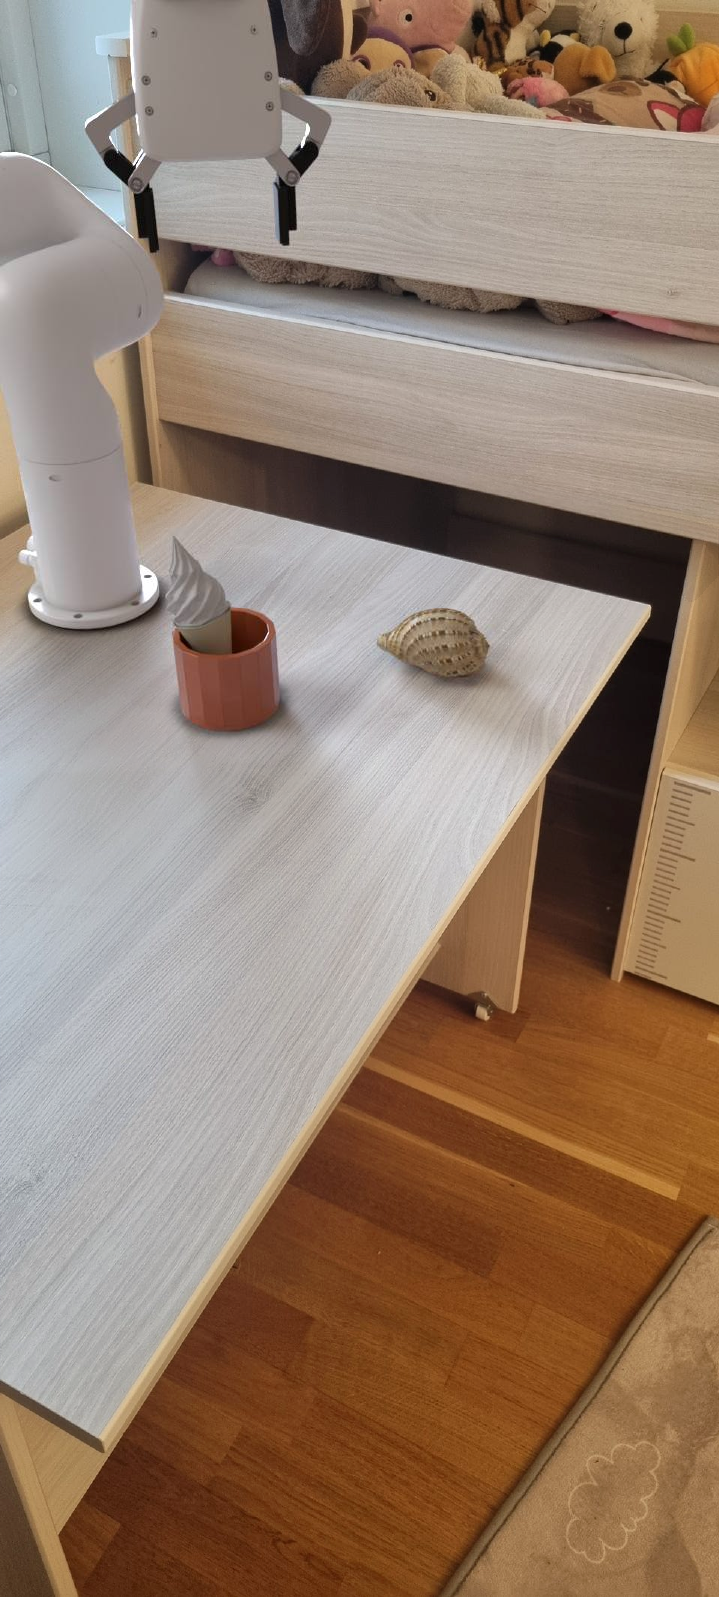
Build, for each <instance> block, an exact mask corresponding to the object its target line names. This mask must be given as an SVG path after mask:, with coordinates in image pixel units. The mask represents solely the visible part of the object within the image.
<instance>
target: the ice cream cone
mask: <svg viewBox="0 0 719 1597" xmlns="http://www.w3.org/2000/svg"><path fill="white" fill-rule="evenodd" d="M168 568H169V569H168V572H169V573H170V580H171V581H170V586H169V590H168V591H167V593H166V594H165V596H164V597H165V600H167V601H169V603H168V604H167V605H166V611H167V612H169V613H170V614H171V615H173V617H172V618H171V620H172V625H173V627H174V628H175V627H177V628H178V630H179V631H180V632H181V634H182V635H183V636H184V638H185V639H186V641H187V642H188V643H189V645H190V646H191V648H192V649H193V650H194V651H196V652H199V653H201V654H210V655H228V654H232V637H231V613H230V610H231V607H233V605H232V603H231V602H230V601H229V600H227V599H226V594H225V593H226V592H225V589H224V587H223V585H222V584H221V582H220V580H217V578H216V577H215V576H214V575H211V574H209V573H207V572H206V571H204V570H203V568H202V566H201V563H200V561H199V560H198V559H196V558H194V557H193V555H192V554H190V552H189V551H188V550H187V549H186V548H185V547H184V545H183V544H182V543H181V542H180V541H179V540H178V538H176V536H175V535H172V551H171V562H170V565H169V567H168Z"/></svg>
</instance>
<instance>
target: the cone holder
mask: <svg viewBox="0 0 719 1597" xmlns="http://www.w3.org/2000/svg"><path fill="white" fill-rule="evenodd" d="M230 613H231V637H232V654H228V655H210V654H201V653H199V652H196V651H194V650H193V649H192V648H191V646H190V645H189V643H188V642H187V641H186V639H185V638H184V636H183V635H182V634H181V632H180V631H179V630H178V628H177V627H175V626H174V629H173V630H172V632H171V636H172V645H173V653H174V661H175V670H176V677H177V686H178V692H179V693H178V694H179V700H180V709H181V712H182V714H183V716H184V717H185V718H186V720H188V721H189V722H190V723H191V724H193V725H195V726H198V727H199V728H202V729H205V730H211V731H218V732H233V731H241V730H246V729H249V728H254V727H256V726H258V725H260V724H262V723H264V722H266V721H267V720H269V719H270V718H271V717H273V716H274V715H275V713H277V711H278V708H279V705H280V702H281V700H280V699H281V692H280V691H281V690H280V674H279V660H278V644H277V631H276V626H275V623H274V621H273V620H271V619H270V618H269V617H268V616H267V615H265V614H264V613H263V612H260V611H257V610H254V609H250V608H246V607H245V608H244V607H235V606H232V607H231V610H230Z"/></svg>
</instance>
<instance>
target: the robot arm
mask: <svg viewBox="0 0 719 1597" xmlns="http://www.w3.org/2000/svg"><path fill="white" fill-rule="evenodd" d="M129 9H130V11H129V12H130V13H129V42H130V44H129V45H130V48H129V49H130V63H131V64H130V66H131V78H132V90H130V91H129V92H127V93H125V94H124V95H123V96H121V97H119V98H118V99H117V100H115V101H114V102H112V103H111V104H110V105H108V106H107V107H104V108H103V109H102V110H101V111H99V112H97V113H96V114H95V115H93V116H92V117H90V118H88V119H87V120H86V121H85V124H84V131H85V134H86V135H87V137H88V139H89V140H90V143H91V144H92V145H93V147H94V148H95V150H96V152H97V153H98V155H99V156H100V158H101V159H102V162H103V164H104V166H105V167H106V168H107V169H108V170H109V171H110V172H112V173H113V174H114V176H116V177H117V178H118V179H119V180H120V181H121V182H122V183H123V184H124V185H125V186H126V187H128V189H129V190H130V191H131V192H132V193H133V201H134V210H135V212H134V213H135V220H136V228H137V236H138V237H137V238H138V239H139V240H140V239H147V240H148V241H147V242H148V248H149V249H148V250H149V253H148V252H147V251H146V250H145V249H144V248H143V246H142V245H141V244H140V243H139V242H138V240H136V239H135V238H134V237H133V236H132V235H131V234H130V232H128V231H127V230H126V229H125V228H123V226H122V225H120V224H119V223H118V222H116V221H115V220H114V219H113V218H112V217H111V216H109V214H108V213H106V212H105V211H104V210H103V209H101V208H100V207H99V206H98V205H97V204H95V202H93V201H92V200H91V199H90V198H89V197H88V196H87V195H85V194H84V193H83V192H82V191H81V190H80V189H79V188H77V187H76V186H75V185H74V184H72V182H70V181H69V180H68V179H67V178H66V177H65V176H64V175H62V174H61V173H60V172H59V171H57V170H56V169H54V168H53V167H52V166H50V164H47V163H46V162H43V161H42V160H41V159H37V158H36V157H33V156H30V155H28V154H24V153H21V152H13V151H12V152H0V391H1V393H2V396H3V401H4V404H5V408H6V412H7V417H8V420H9V424H10V430H11V435H12V440H13V446H14V450H15V453H16V454H15V455H16V460H17V464H18V468H19V474H20V479H21V485H22V488H23V489H22V490H23V495H24V500H25V505H26V510H27V515H28V522H29V525H30V531H31V535H30V537H29V538H28V539H27V542H26V549H22V550H21V551H20V552H19V554H18V555H17V556H18V557H17V558H18V559H17V560H18V562H19V563H20V564H22V565H25V566H28V567H31V568H33V572H34V577H35V581H34V583H33V584H32V585H31V586H30V588H29V590H28V593H27V600H28V606H29V609H30V611H31V613H32V614H33V615H34V616H35V617H36V618H37V619H38V620H40V621H42V622H44V623H45V624H49V625H51V626H54V627H58V628H59V627H60V628H63V629H71V630H92V629H93V630H94V629H102V628H107V627H108V628H109V627H112V626H116V625H120V624H124V623H126V622H129V621H131V620H134V619H136V618H138V617H140V616H141V615H143V614H145V613H146V612H148V611H149V610H150V609H151V608H152V607H153V606H154V605H155V604H156V603H157V601H158V599H159V597H160V584H159V579H158V577H157V576H156V574H155V573H154V572H152V571H151V570H150V569H149V568H147V567H146V566H143V565H142V564H140V556H139V548H138V542H137V535H136V528H135V521H134V519H135V518H134V514H133V513H134V512H133V506H132V499H131V498H132V497H131V491H130V484H129V476H128V471H127V470H128V469H127V463H126V462H127V461H126V455H125V448H124V440H123V433H122V426H121V422H120V416H119V413H118V410H117V407H116V404H115V402H114V401H113V398H112V396H111V394H109V392H108V390H107V389H106V387H105V386H104V384H103V383H102V382H101V380H100V378H99V377H98V375H97V372H96V368H95V363H96V362H98V361H100V360H102V359H104V358H105V357H106V356H109V355H111V354H113V353H115V352H117V351H119V350H121V349H124V348H127V347H129V346H131V345H133V344H134V343H136V342H138V341H140V340H142V339H144V338H145V337H146V336H147V335H148V334H150V333H151V332H152V331H153V330H154V329H155V327H156V326H157V324H158V323H159V322H160V320H161V317H162V315H163V311H164V306H165V292H164V287H163V282H162V280H161V275H160V273H159V271H158V269H157V266H156V264H155V263H154V261H153V260H152V258H151V256H150V255H149V254H156V253H157V252H158V251H160V244H159V236H158V235H159V234H158V225H157V215H156V207H155V206H156V205H155V196H154V195H155V194H154V189H153V187H151V186H150V181H151V180H152V178H153V177H154V175H155V174H156V172H157V171H158V169H159V167H160V165H161V164H162V163H196V162H197V163H198V162H199V163H200V162H224V161H241V160H242V161H243V160H244V161H245V160H257V159H265V161H266V162H267V163H268V164H269V166H270V167H271V168H272V169H273V170H274V171H275V178H274V179H275V180H274V181H273V182H272V190H273V210H274V232H275V233H274V234H275V238H276V240H277V243H278V244H279V245H281V246H282V247H289V246H290V232H293V231H294V232H295V231H298V230H297V229H298V218H297V216H298V214H297V192H296V190H297V189H296V187H297V185H298V184H299V183H300V179H301V178H302V177H303V175H304V174H305V173H306V172H307V171H308V169H309V168H310V167H311V166H312V164H313V163H314V162H315V161H316V160H317V158H318V157H319V154H320V150H321V148H322V146H323V144H324V141H325V139H326V138H327V137H326V136H327V134H328V132H329V130H330V128H331V125H332V121H333V120H332V116H331V115H330V113H329V112H328V111H327V110H325V109H323V108H322V107H320V106H319V105H316V104H314V103H313V102H312V101H309V100H307V99H305V98H303V97H302V96H300V95H298V94H296V93H295V92H293V91H292V90H289V89H287V88H285V87H284V86H282V85H280V78H279V77H280V76H279V68H278V67H279V66H278V59H277V50H276V44H275V39H274V32H273V24H272V17H271V12H270V7H269V2H268V0H130V8H129ZM282 111H284V112H286V113H288V114H289V115H291V116H293V117H295V118H296V119H298V120H300V121H302V122H304V123H306V130H305V132H304V135H303V139H302V140H301V141H300V143H299V144H298V145H297V146H296V147H295V149H293V151H292V152H291V154H290V155H289V156H288V155H287V154H286V153H285V152H284V151H283V150H282V148H281V147H282V145H283V144H282V143H283V113H282ZM133 117H135V126H136V132H137V138H138V141H139V143H140V146H141V151H140V152H139V153H138V156H137V157H136V159H135V160H134V162H132V161H131V160H129V158H127V156H125V155H124V154H123V153H122V152H121V151H120V150H119V149H118V147H117V146H116V145H115V143H114V141H113V139H112V137H111V133H112V132H113V131H114V130H115V129H116V128H118V127H120V126H121V125H123V124H124V123H126V122H127V121H129V120H130V119H131V118H133Z"/></svg>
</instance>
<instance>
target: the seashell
mask: <svg viewBox="0 0 719 1597" xmlns="http://www.w3.org/2000/svg"><path fill="white" fill-rule="evenodd" d="M475 622H476V621H475V620H474V619H472V618H471V617H470V616H468V615H467V614H466V613H464V612H462V611H460V610H457V609H453V608H447V607H438V608H437V607H436V608H429V609H425V610H421V611H418V612H415V613H413V614H411V615H409V616H408V617H406V618H404V620H402V621H401V622H400V623H399V624H398V625H397V626H396V627H395V628H394V629H392V630H391V631H388V632H387V633H382V634H381V633H379V635H378V637H377V639H376V646H377V647H378V648H379V649H380V650H382V651H383V652H386V653H388V654H390V655H391V656H393V657H394V658H395V659H396V660H399V661H401V662H402V663H404V664H408V665H411V666H414V667H418V668H420V669H423V670H424V671H425V672H427V673H430V674H432V675H434V676H436V677H437V678H438V677H439V678H443V679H444V678H446V679H449V678H454V679H455V678H458V679H459V678H466V677H471V676H473V675H475V674H477V673H478V672H479V671H480V669H481V668H482V667H484V665H485V664H486V660H487V658H488V653H489V649H490V647H491V645H490V644H489V641H488V640H487V637H485V634H484V633H482V632H481V631H480V630H478V628H477V626H476V623H475Z"/></svg>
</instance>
